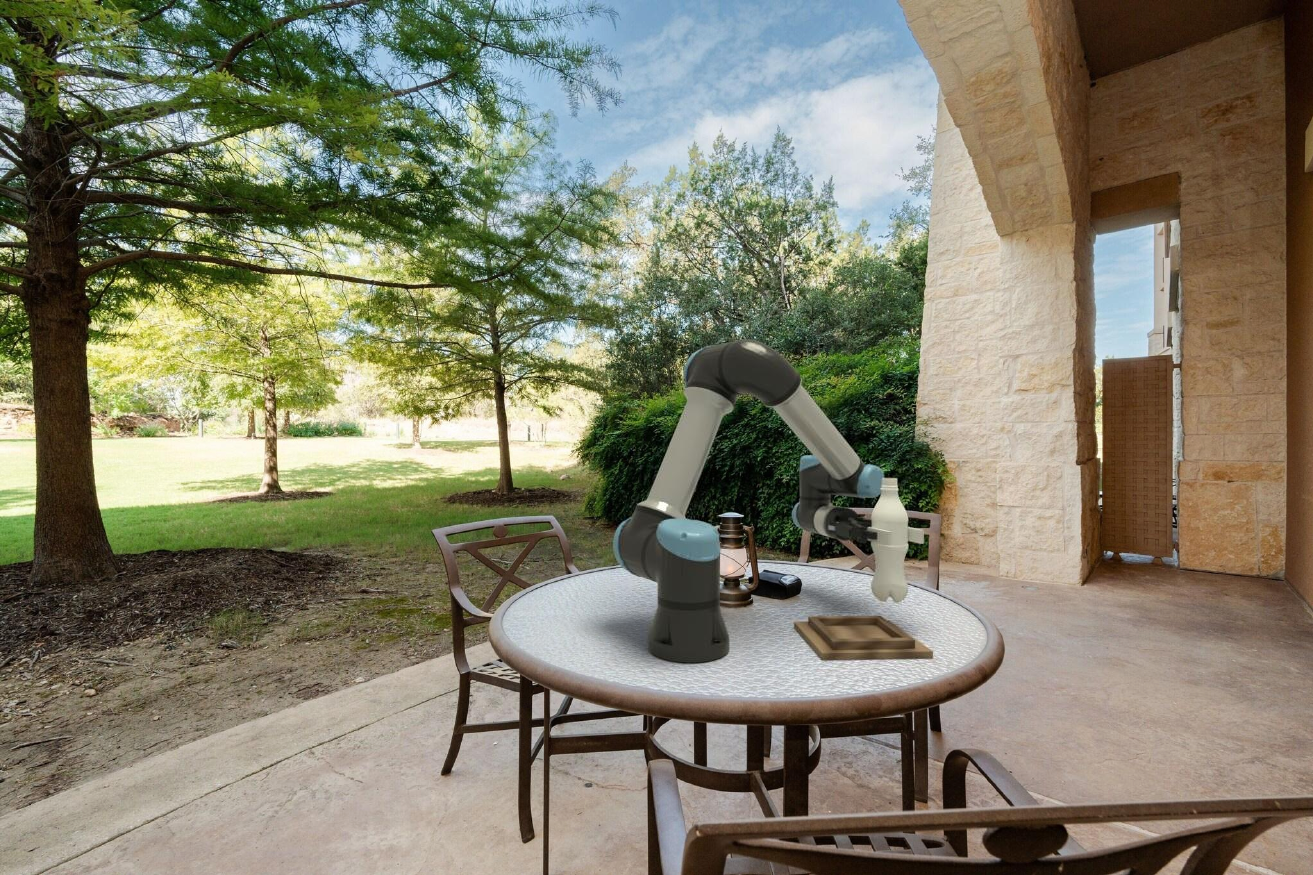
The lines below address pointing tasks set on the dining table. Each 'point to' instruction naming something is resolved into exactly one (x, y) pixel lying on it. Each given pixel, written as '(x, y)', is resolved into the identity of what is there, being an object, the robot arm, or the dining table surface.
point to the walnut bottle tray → (859, 638)
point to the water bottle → (891, 558)
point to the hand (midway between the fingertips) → (906, 537)
